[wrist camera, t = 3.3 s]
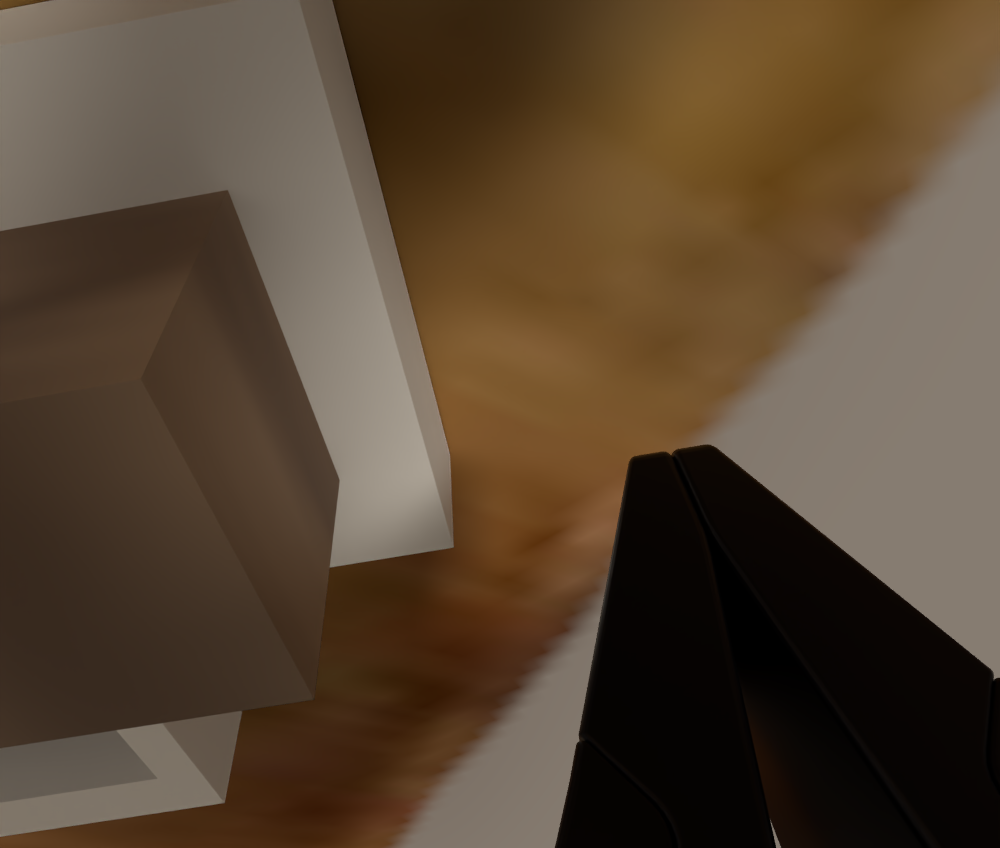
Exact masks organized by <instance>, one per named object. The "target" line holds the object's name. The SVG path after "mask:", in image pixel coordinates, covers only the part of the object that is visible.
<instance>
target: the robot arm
mask: <svg viewBox="0 0 1000 848" xmlns="http://www.w3.org/2000/svg"><path fill="white" fill-rule="evenodd" d="M993 678H994V674H993V671H992V670H991V669H990V668H989V667H987V666H986V665H985V664H984V663H982V662H981V661H980V660H979V659H977V658H976V657H975V656H974V655H972V654H971V653H970V652H969V651H968V650H966V649H965V648H964V647H963V646H961V645H960V644H959V643H957V642H956V641H955V640H954V639H952V638H951V637H950V636H949V635H948V634H946V633H945V632H944V631H943V630H942V629H940V628H939V627H938V626H936V625H935V624H934V623H933V622H931V621H930V620H929V619H928V618H927V617H925V616H924V615H923V614H922V613H920V612H919V611H918V610H917V609H915V608H914V607H913V606H912V605H911V604H909V603H908V602H907V601H905V600H904V599H903V598H902V597H901V596H899V595H898V594H897V593H895V592H894V591H893V590H892V589H890V588H889V587H888V586H887V585H886V584H885V583H883V582H882V581H881V580H879V579H878V578H877V577H876V576H875V575H873V574H872V573H871V572H870V571H868V570H867V569H866V568H865V567H863V566H862V565H861V564H860V563H858V562H857V561H856V560H855V559H854V558H852V557H851V556H850V555H849V554H847V553H846V552H845V551H844V550H842V549H841V548H840V547H839V546H837V545H836V544H835V543H834V542H833V541H831V540H830V539H829V538H827V537H826V536H825V535H824V534H822V533H821V532H820V531H819V530H818V529H816V528H815V527H814V526H813V525H811V524H810V523H809V522H808V521H806V520H805V519H804V518H803V517H802V516H800V515H799V514H798V513H796V512H795V511H794V510H793V509H792V508H790V507H789V506H788V505H787V504H785V503H784V502H783V501H781V500H780V499H779V498H778V497H777V496H776V495H774V494H773V493H772V492H771V491H769V490H768V489H767V488H766V487H764V486H763V485H762V484H760V483H759V482H758V481H757V480H756V479H754V478H753V477H752V476H751V475H750V474H748V473H747V472H746V471H744V470H743V469H742V468H741V467H740V466H738V465H737V464H736V463H735V462H733V461H732V460H731V459H730V458H728V457H727V456H726V455H725V454H724V453H722V452H721V451H720V450H719V449H717V448H716V447H714V446H712V445H700V446H694V447H688V448H682V449H677V450H675V451H674V452H673V453H672V455H670V454H669V453H667V452H657V453H651V454H645V455H639V456H634V457H632V458H631V460H630V461H629V464H628V470H627V475H626V481H625V486H624V492H623V497H622V502H621V508H620V513H619V519H618V524H617V530H616V535H615V541H614V546H613V551H612V557H611V562H610V568H609V573H608V579H607V584H606V589H605V595H604V600H603V606H602V611H601V617H600V622H599V627H598V633H597V638H596V644H595V649H594V655H593V660H592V665H591V671H590V677H589V682H588V687H587V693H586V699H585V704H584V710H583V714H582V720H581V725H580V731H579V740H580V741H579V742H578V743H577V745H576V749H575V755H574V760H573V766H572V771H571V777H570V782H569V787H568V792H567V796H566V800H565V805H564V809H563V814H562V818H561V823H560V827H559V832H558V837H557V841H556V845H555V848H776V845H775V840H774V836H773V831H772V827H771V823H772V825H773V828H774V830H775V833H776V836H777V838H778V841H779V843H780V846H781V848H1000V678H996V679H993ZM993 680H994V681H993ZM770 820H771V822H770Z"/></svg>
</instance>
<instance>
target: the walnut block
mask: <svg viewBox="0 0 1000 848" xmlns="http://www.w3.org/2000/svg"><path fill="white" fill-rule="evenodd" d="M339 483H340V480H339V477H338V474H337V472H336V469H335V467H334V464H333V461H332V459H331V456H330V454H329V451H328V448H327V446H326V443H325V441H324V438H323V435H322V433H321V430H320V428H319V425H318V422H317V420H316V417H315V415H314V412H313V410H312V407H311V404H310V402H309V399H308V397H307V394H306V391H305V389H304V386H303V384H302V381H301V378H300V376H299V373H298V371H297V368H296V365H295V363H294V360H293V358H292V355H291V352H290V350H289V347H288V345H287V342H286V339H285V337H284V334H283V332H282V329H281V327H280V324H279V321H278V319H277V316H276V314H275V311H274V308H273V306H272V303H271V301H270V298H269V295H268V293H267V290H266V288H265V285H264V282H263V280H262V277H261V275H260V272H259V269H258V267H257V264H256V262H255V259H254V256H253V254H252V251H251V249H250V246H249V244H248V241H247V238H246V236H245V233H244V231H243V228H242V225H241V223H240V220H239V218H238V215H237V212H236V210H235V207H234V205H233V202H232V199H231V197H230V194H229V192H228V190H225V191H219V192H213V193H208V194H202V195H197V196H191V197H186V198H180V199H175V200H169V201H164V202H158V203H153V204H147V205H142V206H136V207H131V208H125V209H120V210H114V211H108V212H103V213H97V214H92V215H86V216H81V217H75V218H70V219H64V220H59V221H53V222H48V223H42V224H37V225H31V226H26V227H20V228H15V229H9V230H4V231H0V748H6V747H12V746H19V745H25V744H31V743H38V742H44V741H51V740H57V739H64V738H70V737H77V736H83V735H89V734H96V733H102V732H109V731H115V730H122V729H128V728H135V727H141V726H147V725H154V724H160V723H167V722H173V721H180V720H186V719H193V718H199V717H205V716H212V715H218V714H225V713H231V712H238V711H244V710H250V709H257V708H263V707H270V706H276V705H283V704H289V703H296V702H302V701H308V700H314V699H315V690H316V681H317V673H318V664H319V656H320V647H321V638H322V630H323V621H324V612H325V604H326V595H327V586H328V578H329V569H330V560H331V552H332V543H333V534H334V526H335V517H336V509H337V500H338V491H339Z"/></svg>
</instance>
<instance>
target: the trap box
mask: <svg viewBox="0 0 1000 848" xmlns="http://www.w3.org/2000/svg"><path fill="white" fill-rule="evenodd" d="M225 190H228V192H229V194H230V197H231V199H232V202H233V205H234V207H235V210H236V212H237V215H238V218H239V220H240V223H241V225H242V228H243V231H244V233H245V236H246V238H247V241H248V244H249V246H250V249H251V251H252V254H253V256H254V259H255V262H256V264H257V267H258V269H259V272H260V275H261V277H262V280H263V282H264V285H265V288H266V290H267V293H268V295H269V298H270V301H271V303H272V306H273V308H274V311H275V314H276V316H277V319H278V321H279V324H280V327H281V329H282V332H283V334H284V337H285V339H286V342H287V345H288V347H289V350H290V352H291V355H292V358H293V360H294V363H295V365H296V368H297V371H298V373H299V376H300V378H301V381H302V384H303V386H304V389H305V391H306V394H307V397H308V399H309V402H310V404H311V407H312V410H313V412H314V415H315V417H316V420H317V422H318V425H319V428H320V430H321V433H322V435H323V438H324V441H325V443H326V446H327V448H328V451H329V454H330V456H331V459H332V461H333V464H334V467H335V469H336V472H337V474H338V477H339V480H340V483H339V491H338V500H337V509H336V517H335V526H334V534H333V543H332V552H331V560H330V567H336V566H342V565H349V564H355V563H361V562H367V561H373V560H380V559H386V558H392V557H398V556H404V555H411V554H417V553H423V552H429V551H435V550H441V549H448V548H454V541H453V516H452V492H451V467H450V453H449V449H448V445H447V441H446V437H445V434H444V430H443V426H442V422H441V418H440V414H439V410H438V407H437V403H436V399H435V395H434V391H433V387H432V383H431V380H430V376H429V372H428V368H427V364H426V360H425V356H424V353H423V349H422V345H421V341H420V337H419V333H418V329H417V325H416V322H415V318H414V314H413V310H412V306H411V302H410V298H409V295H408V291H407V287H406V283H405V279H404V275H403V271H402V268H401V264H400V260H399V256H398V252H397V248H396V244H395V241H394V237H393V233H392V229H391V225H390V221H389V217H388V214H387V210H386V206H385V202H384V198H383V194H382V190H381V187H380V183H379V179H378V175H377V171H376V167H375V163H374V159H373V156H372V152H371V148H370V144H369V140H368V136H367V132H366V129H365V125H364V121H363V117H362V113H361V109H360V105H359V102H358V98H357V94H356V90H355V86H354V82H353V78H352V75H351V71H350V67H349V63H348V59H347V55H346V51H345V48H344V44H343V40H342V36H341V32H340V28H339V24H338V21H337V17H336V13H335V9H334V5H333V1H332V0H51V1H46V2H41V3H36V4H30V5H25V6H20V7H15V8H10V9H4V10H0V231H4V230H9V229H15V228H20V227H26V226H31V225H37V224H42V223H48V222H53V221H59V220H64V219H70V218H75V217H81V216H86V215H92V214H97V213H103V212H108V211H114V210H120V209H125V208H131V207H136V206H142V205H147V204H153V203H158V202H164V201H169V200H175V199H180V198H186V197H191V196H197V195H202V194H208V193H213V192H219V191H225ZM241 715H242V711H238V712H231V713H225V714H218V715H212V716H205V717H199V718H193V719H186V720H180V721H173V722H167V723H160V724H154V725H147V726H141V727H135V728H128V729H122V730H115V731H109V732H102V733H96V734H89V735H83V736H77V737H70V738H64V739H57V740H51V741H44V742H38V743H31V744H25V745H19V746H12V747H6V748H0V837H2V836H9V835H16V834H22V833H29V832H36V831H42V830H49V829H55V828H62V827H69V826H75V825H82V824H89V823H95V822H102V821H109V820H115V819H122V818H128V817H135V816H142V815H148V814H155V813H162V812H168V811H175V810H181V809H188V808H195V807H201V806H208V805H215V804H221V803H225V798H226V793H227V788H228V783H229V777H230V772H231V767H232V762H233V756H234V751H235V746H236V741H237V735H238V730H239V725H240V720H241Z"/></svg>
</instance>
